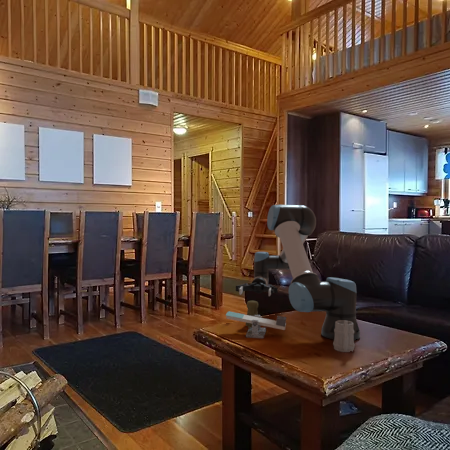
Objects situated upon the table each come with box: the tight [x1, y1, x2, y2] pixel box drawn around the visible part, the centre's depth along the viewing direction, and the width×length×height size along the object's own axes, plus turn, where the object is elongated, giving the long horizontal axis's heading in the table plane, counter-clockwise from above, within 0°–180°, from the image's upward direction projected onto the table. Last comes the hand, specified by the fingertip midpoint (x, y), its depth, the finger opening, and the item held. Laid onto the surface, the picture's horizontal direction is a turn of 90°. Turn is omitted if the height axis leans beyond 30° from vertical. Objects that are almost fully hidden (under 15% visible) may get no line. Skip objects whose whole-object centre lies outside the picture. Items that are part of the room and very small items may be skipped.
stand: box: [245, 314, 267, 339], centre depth 174 cm, size 7×12×7 cm, turn 170°
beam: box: [225, 311, 287, 331], centre depth 174 cm, size 24×7×4 cm, turn 80°
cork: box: [245, 300, 259, 328], centre depth 186 cm, size 6×6×11 cm
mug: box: [332, 320, 356, 353], centre depth 153 cm, size 8×12×12 cm, turn 169°
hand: (254, 292), depth 196 cm, fingers open, 13 cm apart
